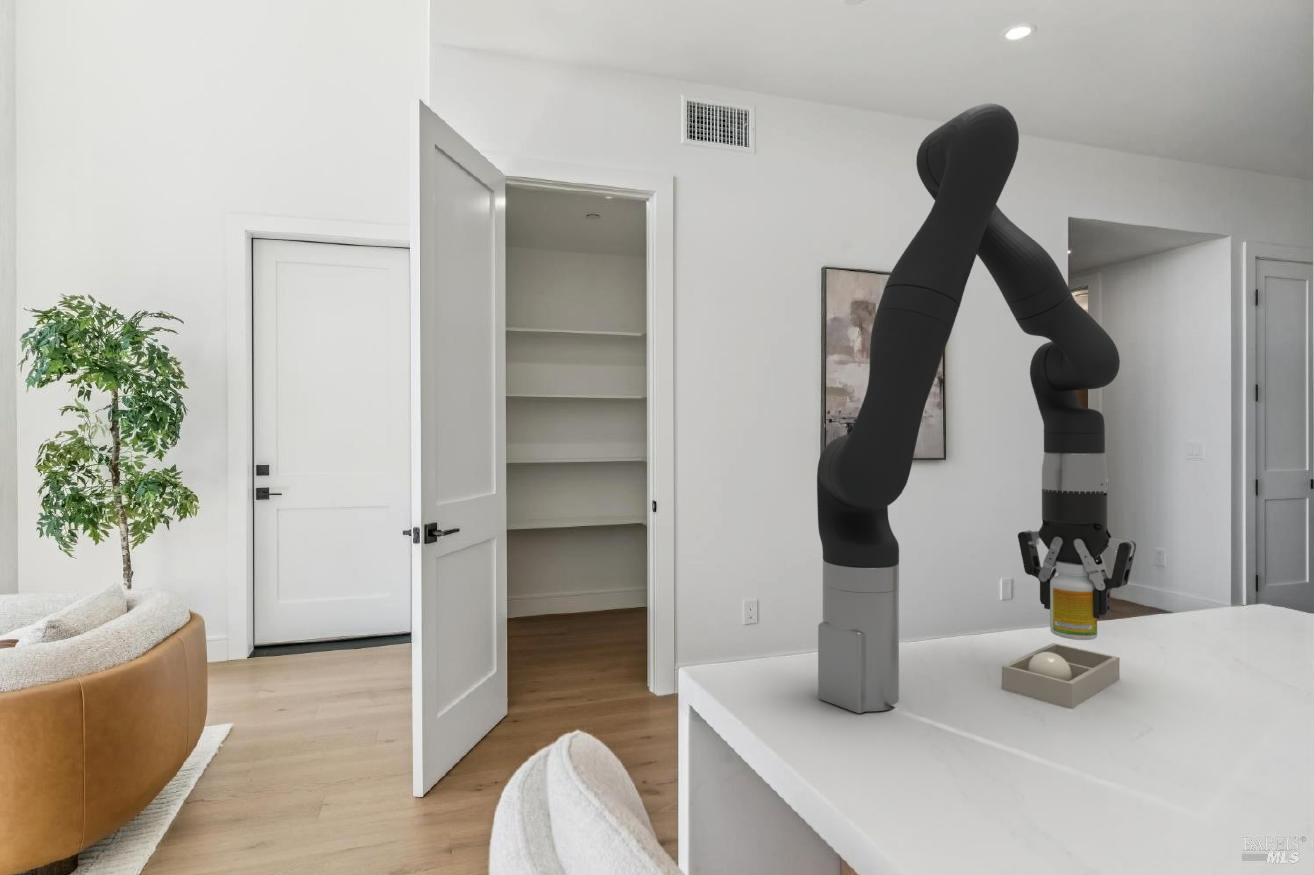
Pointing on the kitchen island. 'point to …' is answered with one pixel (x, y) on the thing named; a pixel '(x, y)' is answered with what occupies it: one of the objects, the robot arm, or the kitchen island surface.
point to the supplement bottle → (1072, 603)
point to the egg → (1050, 666)
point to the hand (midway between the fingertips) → (1074, 612)
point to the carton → (1086, 680)
